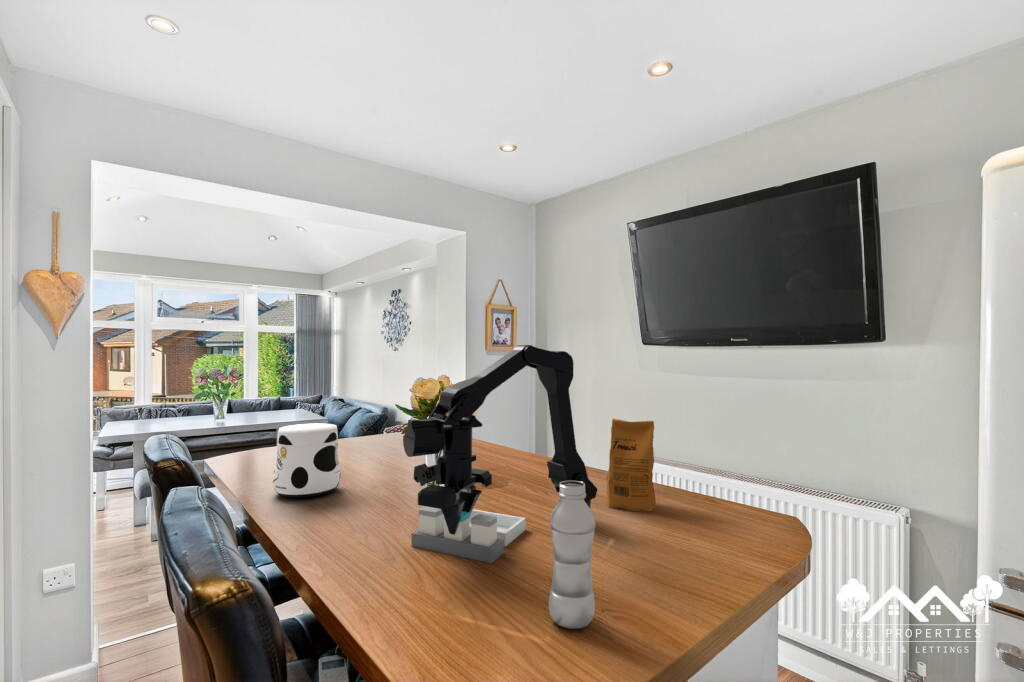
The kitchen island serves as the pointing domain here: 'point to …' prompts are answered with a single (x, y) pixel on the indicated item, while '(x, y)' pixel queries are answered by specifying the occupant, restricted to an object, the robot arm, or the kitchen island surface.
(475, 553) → the fuse holder
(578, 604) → the plastic bottle
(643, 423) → the coffee package
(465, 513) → the block
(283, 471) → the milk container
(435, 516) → the block
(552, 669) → the kitchen island surface
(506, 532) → the tray
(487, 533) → the fuse
